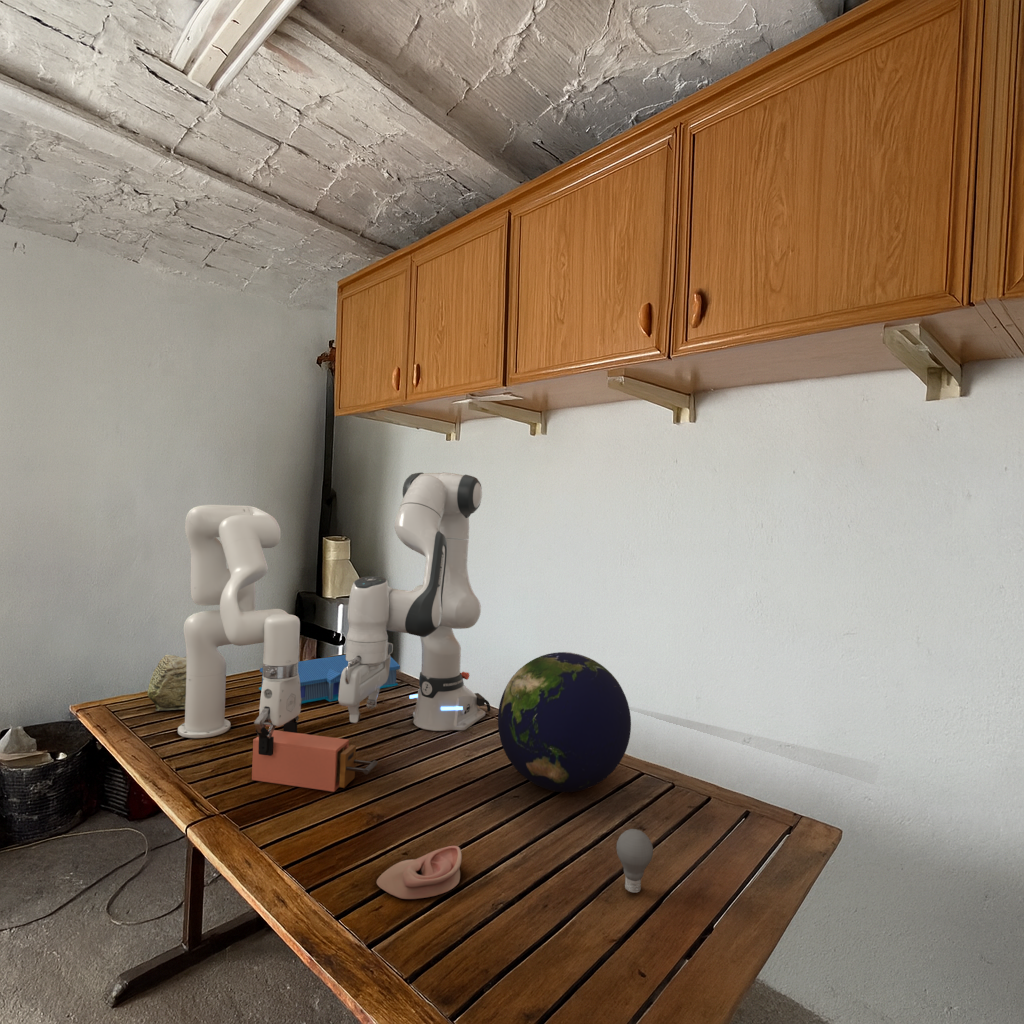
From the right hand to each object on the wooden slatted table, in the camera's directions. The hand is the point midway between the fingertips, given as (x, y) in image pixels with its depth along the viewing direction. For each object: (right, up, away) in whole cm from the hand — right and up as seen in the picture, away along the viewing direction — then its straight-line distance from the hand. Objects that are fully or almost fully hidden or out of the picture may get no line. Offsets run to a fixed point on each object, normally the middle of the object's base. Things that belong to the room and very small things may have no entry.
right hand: (363, 714), depth 139 cm
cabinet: (-15, -15, +3) cm, 21 cm away
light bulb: (+53, -19, -33) cm, 65 cm away
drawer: (-10, -15, +2) cm, 18 cm away
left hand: (-20, -8, +3) cm, 22 cm away
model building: (-26, -14, +69) cm, 75 cm away
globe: (+44, -18, +5) cm, 47 cm away
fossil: (-63, -13, +46) cm, 80 cm away
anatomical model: (+17, -17, -33) cm, 41 cm away
